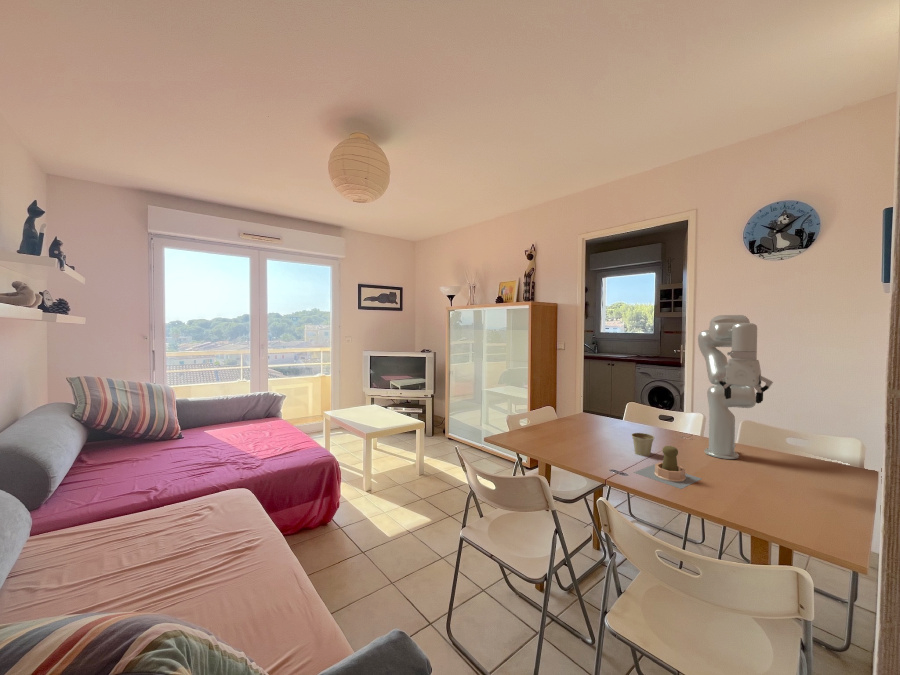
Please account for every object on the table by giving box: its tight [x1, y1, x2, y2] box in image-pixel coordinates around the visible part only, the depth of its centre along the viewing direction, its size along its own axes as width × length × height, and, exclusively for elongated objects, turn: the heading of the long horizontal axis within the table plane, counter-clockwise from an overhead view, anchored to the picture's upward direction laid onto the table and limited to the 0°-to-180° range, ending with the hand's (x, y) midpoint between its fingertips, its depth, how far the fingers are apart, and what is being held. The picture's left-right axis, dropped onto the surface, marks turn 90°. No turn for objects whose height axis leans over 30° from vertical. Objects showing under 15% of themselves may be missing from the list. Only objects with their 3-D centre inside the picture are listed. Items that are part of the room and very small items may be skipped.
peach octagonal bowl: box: [655, 462, 686, 482], centre depth 145 cm, size 10×10×4 cm
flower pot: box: [630, 432, 655, 457], centre depth 171 cm, size 9×9×9 cm
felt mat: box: [633, 463, 703, 490], centre depth 146 cm, size 16×18×1 cm
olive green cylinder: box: [662, 445, 679, 471], centre depth 145 cm, size 6×6×11 cm
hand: (743, 400), depth 142 cm, fingers open, 9 cm apart
